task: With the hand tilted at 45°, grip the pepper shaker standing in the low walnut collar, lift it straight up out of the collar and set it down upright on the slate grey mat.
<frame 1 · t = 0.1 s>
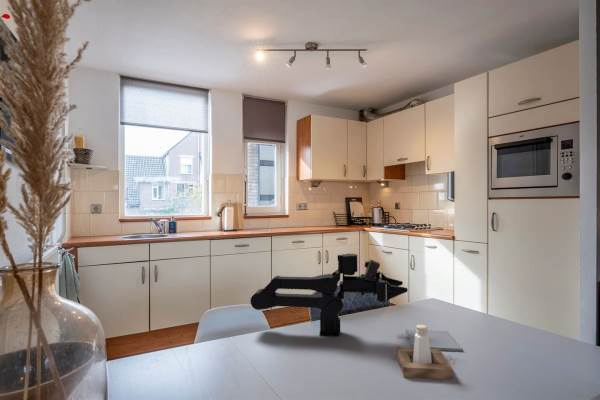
hand: (404, 286, 109), 17 cm above the table, fingers open, 9 cm apart
slate grey mat: (431, 340, 105), on the table
pepper shaker: (422, 367, 88), resting in walnut collar
walnut collar: (422, 366, 88), on the table
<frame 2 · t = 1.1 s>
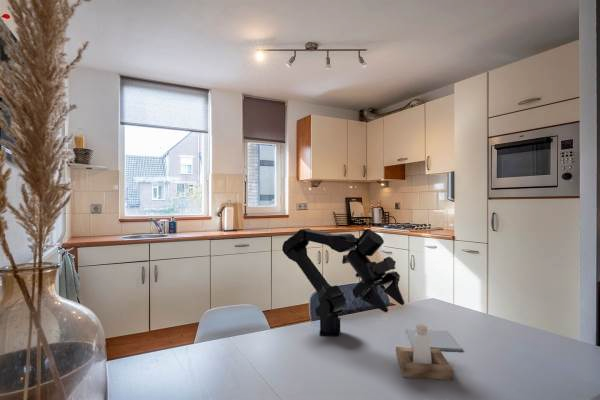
hand: (395, 307, 95), 14 cm above the table, fingers open, 9 cm apart
nothing on the table moved.
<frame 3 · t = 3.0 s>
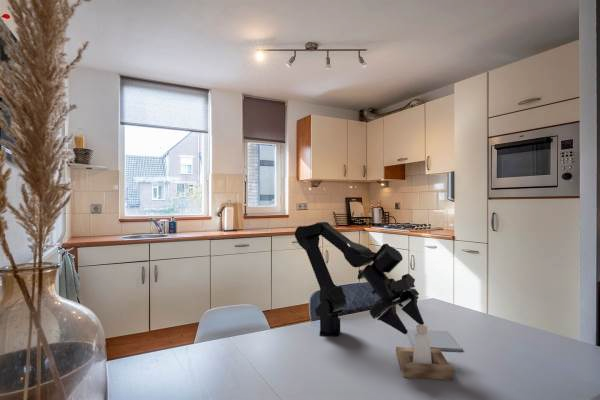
hand: (414, 328, 90), 10 cm above the table, fingers open, 9 cm apart
nothing on the table moved.
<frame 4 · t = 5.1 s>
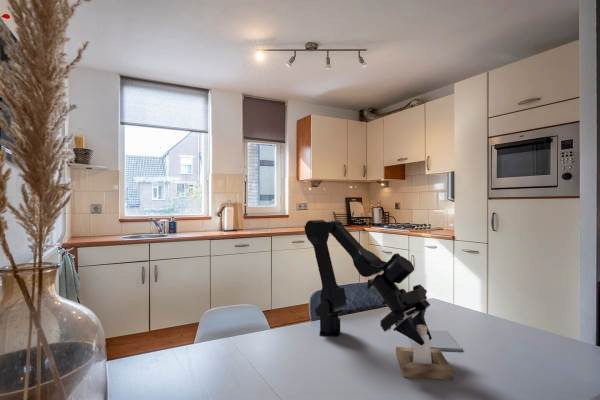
hand: (426, 342, 87), 7 cm above the table, fingers closed on pepper shaker, 4 cm apart
pepper shaker: (422, 367, 88), resting in walnut collar, touching gripper
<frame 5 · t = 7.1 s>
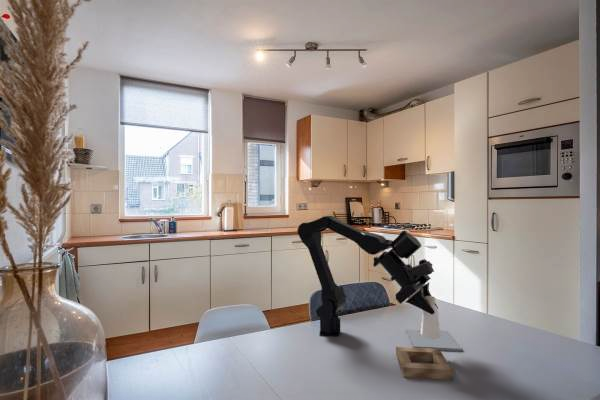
hand: (435, 311, 94), 13 cm above the table, fingers closed on pepper shaker, 4 cm apart
pepper shaker: (430, 335, 94), point 6 cm above the table, touching gripper
when the fingers open (9 cm above the table, at t = 9.6 s): pepper shaker drops 1 cm, resting on slate grey mat.
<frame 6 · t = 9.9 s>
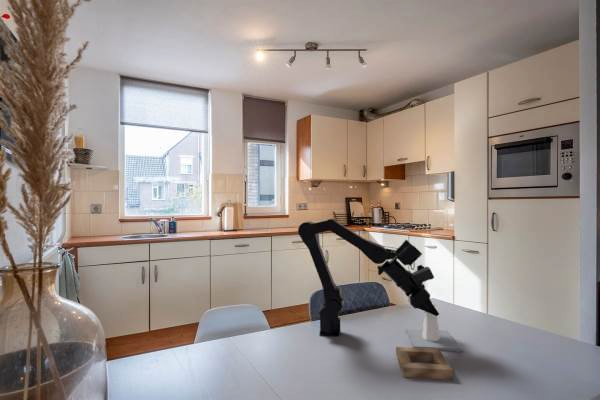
hand: (435, 311, 105), 10 cm above the table, fingers open, 7 cm apart
pepper shaker: (431, 338, 105), point 1 cm above the table, touching slate grey mat
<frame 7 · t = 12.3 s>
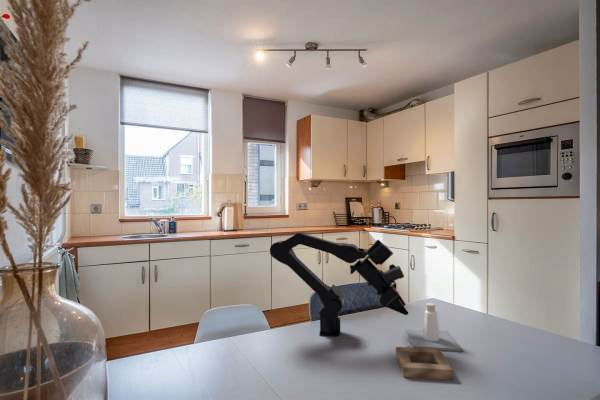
hand: (406, 309, 107), 9 cm above the table, fingers open, 9 cm apart
nothing on the table moved.
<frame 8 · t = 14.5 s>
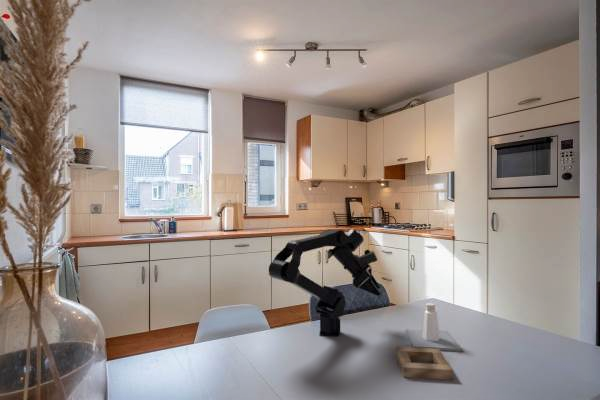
hand: (379, 291, 114), 14 cm above the table, fingers open, 9 cm apart
nothing on the table moved.
at the end: pepper shaker inside the target area on the slate grey mat (0.2 cm from its centre), point 0.6 cm above the slate grey mat's base; pepper shaker tilted 0°; the gripper is holding nothing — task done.
